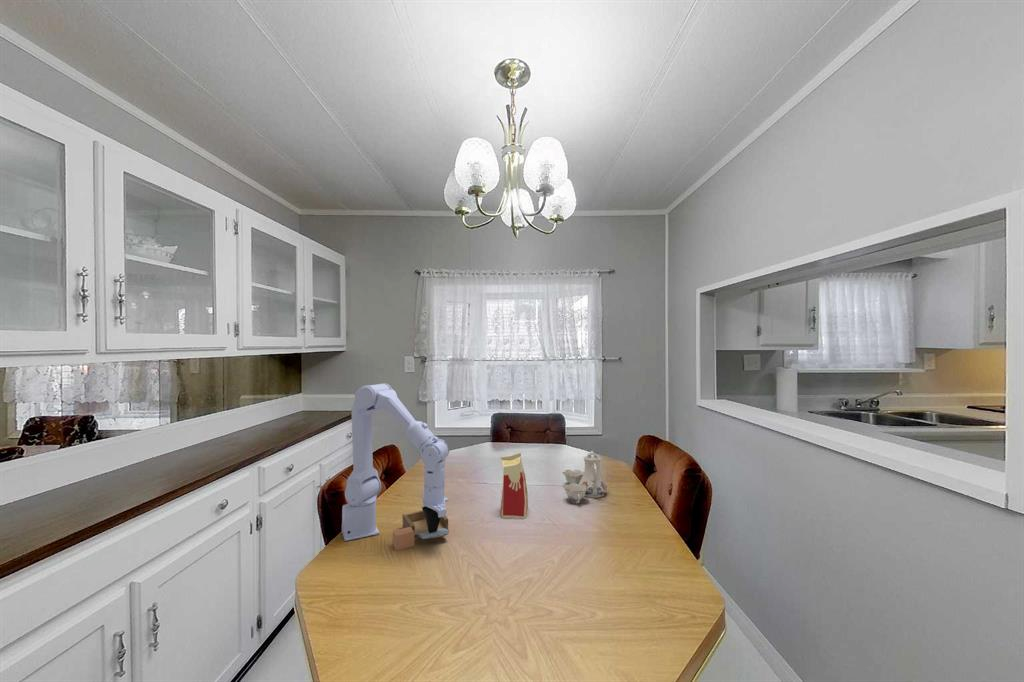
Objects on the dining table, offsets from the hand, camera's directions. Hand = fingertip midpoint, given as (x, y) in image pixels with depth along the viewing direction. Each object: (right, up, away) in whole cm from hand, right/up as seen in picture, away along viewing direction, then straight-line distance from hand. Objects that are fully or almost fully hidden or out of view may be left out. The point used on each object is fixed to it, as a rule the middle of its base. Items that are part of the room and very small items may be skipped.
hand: (432, 533), depth 114 cm
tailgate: (-1, -1, +2) cm, 3 cm away
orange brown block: (-8, -3, -2) cm, 8 cm away
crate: (-4, -3, +7) cm, 8 cm away
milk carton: (+23, -3, +20) cm, 31 cm away
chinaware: (+50, -4, +39) cm, 63 cm away
